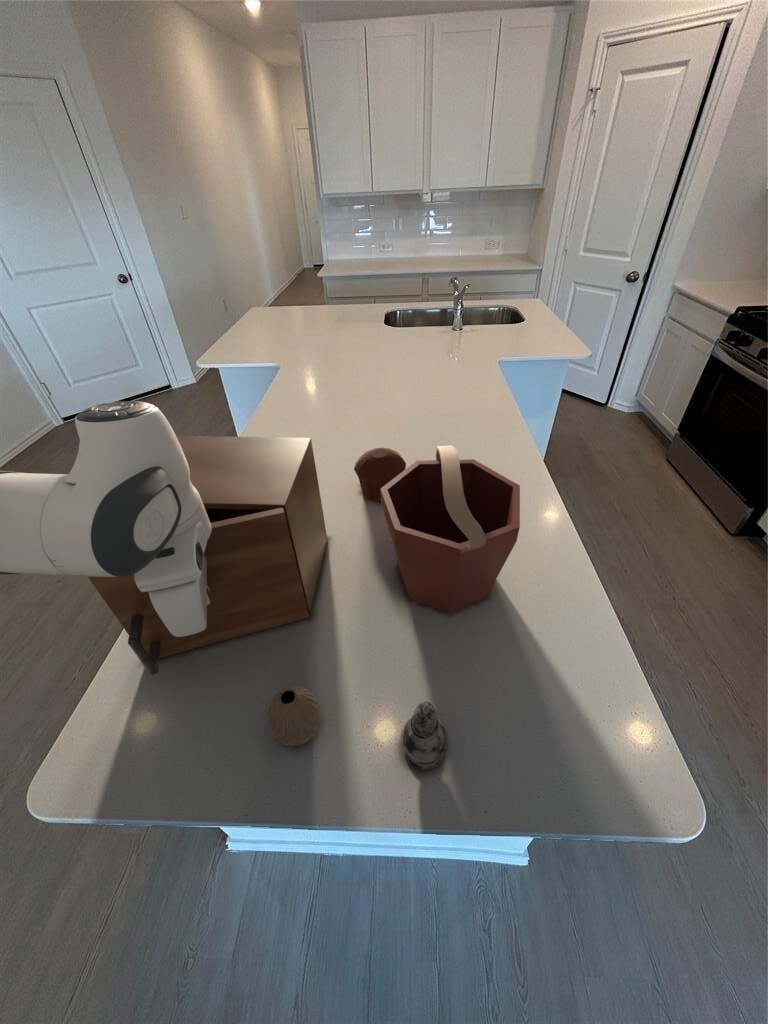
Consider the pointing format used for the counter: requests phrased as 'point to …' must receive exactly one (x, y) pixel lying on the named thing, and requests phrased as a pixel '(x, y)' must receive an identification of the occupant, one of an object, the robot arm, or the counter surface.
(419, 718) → the grey stone turned figure
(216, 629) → the cupboard door
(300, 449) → the cupboard
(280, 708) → the vase
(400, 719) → the counter surface
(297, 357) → the counter surface
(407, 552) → the bucket
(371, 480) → the muffin
